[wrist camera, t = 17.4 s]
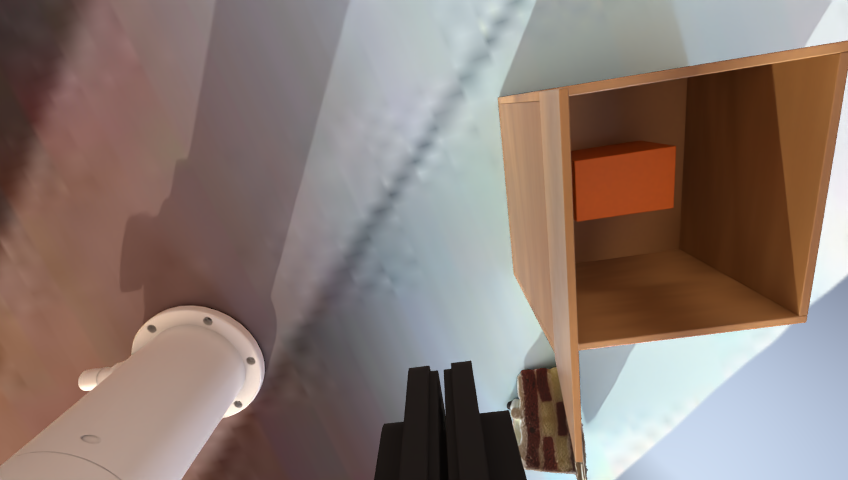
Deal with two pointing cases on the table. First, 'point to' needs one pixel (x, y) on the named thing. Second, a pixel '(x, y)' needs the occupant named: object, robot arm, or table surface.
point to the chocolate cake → (544, 425)
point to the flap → (562, 252)
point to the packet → (622, 179)
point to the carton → (689, 197)
